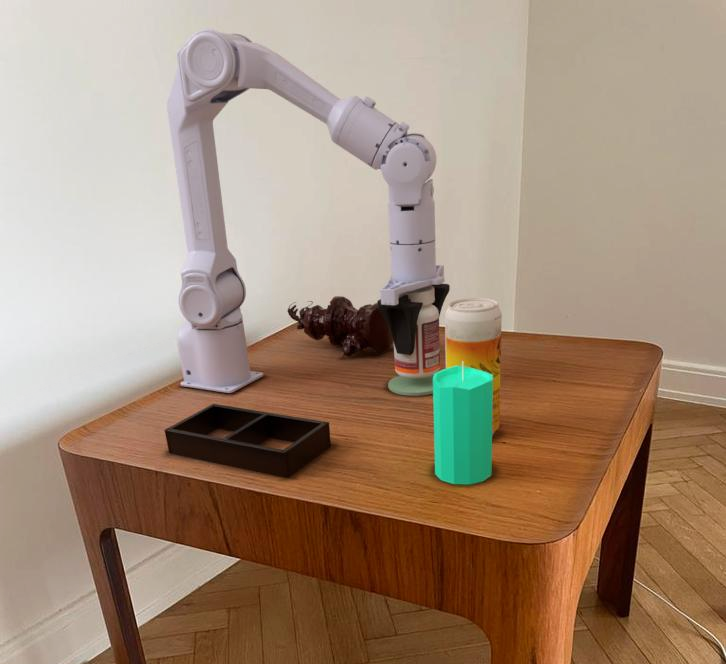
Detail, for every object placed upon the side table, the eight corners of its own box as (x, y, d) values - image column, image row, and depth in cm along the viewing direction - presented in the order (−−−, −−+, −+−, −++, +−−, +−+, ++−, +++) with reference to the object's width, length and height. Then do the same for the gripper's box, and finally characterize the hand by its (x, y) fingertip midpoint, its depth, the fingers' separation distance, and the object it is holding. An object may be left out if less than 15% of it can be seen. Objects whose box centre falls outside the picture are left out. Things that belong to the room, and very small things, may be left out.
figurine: (390, 377, 116) (295, 367, 125) (409, 319, 119) (315, 313, 127) (364, 345, 108) (265, 337, 117) (385, 284, 110) (286, 281, 119)
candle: (430, 462, 81) (427, 355, 75) (485, 456, 81) (486, 349, 75) (440, 487, 75) (437, 374, 70) (498, 481, 76) (500, 368, 70)
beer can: (498, 443, 84) (500, 310, 77) (444, 441, 85) (441, 311, 78) (500, 422, 89) (502, 296, 82) (449, 421, 90) (447, 297, 84)
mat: (377, 391, 101) (377, 388, 101) (404, 373, 107) (404, 370, 107) (431, 399, 97) (431, 395, 97) (455, 379, 103) (455, 376, 103)
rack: (168, 453, 87) (164, 429, 86) (217, 425, 94) (213, 403, 93) (287, 478, 80) (284, 452, 78) (331, 446, 86) (329, 422, 85)
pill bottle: (437, 363, 104) (435, 281, 99) (442, 377, 99) (441, 291, 93) (393, 366, 104) (389, 284, 99) (396, 381, 99) (392, 295, 93)
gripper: (415, 253, 86) (419, 365, 92) (464, 231, 97) (464, 333, 103) (362, 251, 89) (369, 360, 96) (415, 230, 100) (419, 329, 107)
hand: (416, 346), depth 100 cm, fingers closed on pill bottle, 6 cm apart
